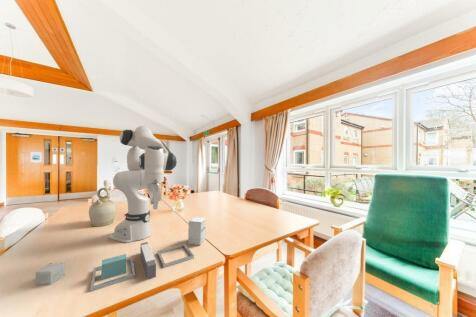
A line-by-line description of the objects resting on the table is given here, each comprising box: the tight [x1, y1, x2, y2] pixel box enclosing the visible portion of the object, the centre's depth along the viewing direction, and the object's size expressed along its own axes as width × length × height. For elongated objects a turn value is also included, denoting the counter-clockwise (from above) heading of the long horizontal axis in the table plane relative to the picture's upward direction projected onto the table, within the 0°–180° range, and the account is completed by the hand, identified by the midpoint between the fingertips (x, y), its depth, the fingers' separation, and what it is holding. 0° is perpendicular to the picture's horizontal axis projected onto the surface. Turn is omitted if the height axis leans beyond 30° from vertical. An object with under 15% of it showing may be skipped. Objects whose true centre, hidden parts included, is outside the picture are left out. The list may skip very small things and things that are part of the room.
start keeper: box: [156, 243, 195, 268], centre depth 85 cm, size 14×14×1 cm
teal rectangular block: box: [100, 253, 127, 281], centre depth 71 cm, size 8×4×6 cm, turn 125°
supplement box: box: [187, 216, 207, 246], centre depth 99 cm, size 7×7×13 cm
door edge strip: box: [139, 241, 157, 280], centre depth 78 cm, size 22×3×5 cm, turn 35°
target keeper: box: [89, 257, 136, 292], centre depth 71 cm, size 14×14×1 cm
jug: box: [88, 187, 117, 227], centre depth 124 cm, size 15×16×25 cm
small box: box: [34, 262, 66, 286], centre depth 67 cm, size 6×6×5 cm
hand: (153, 206), depth 88 cm, fingers open, 8 cm apart
